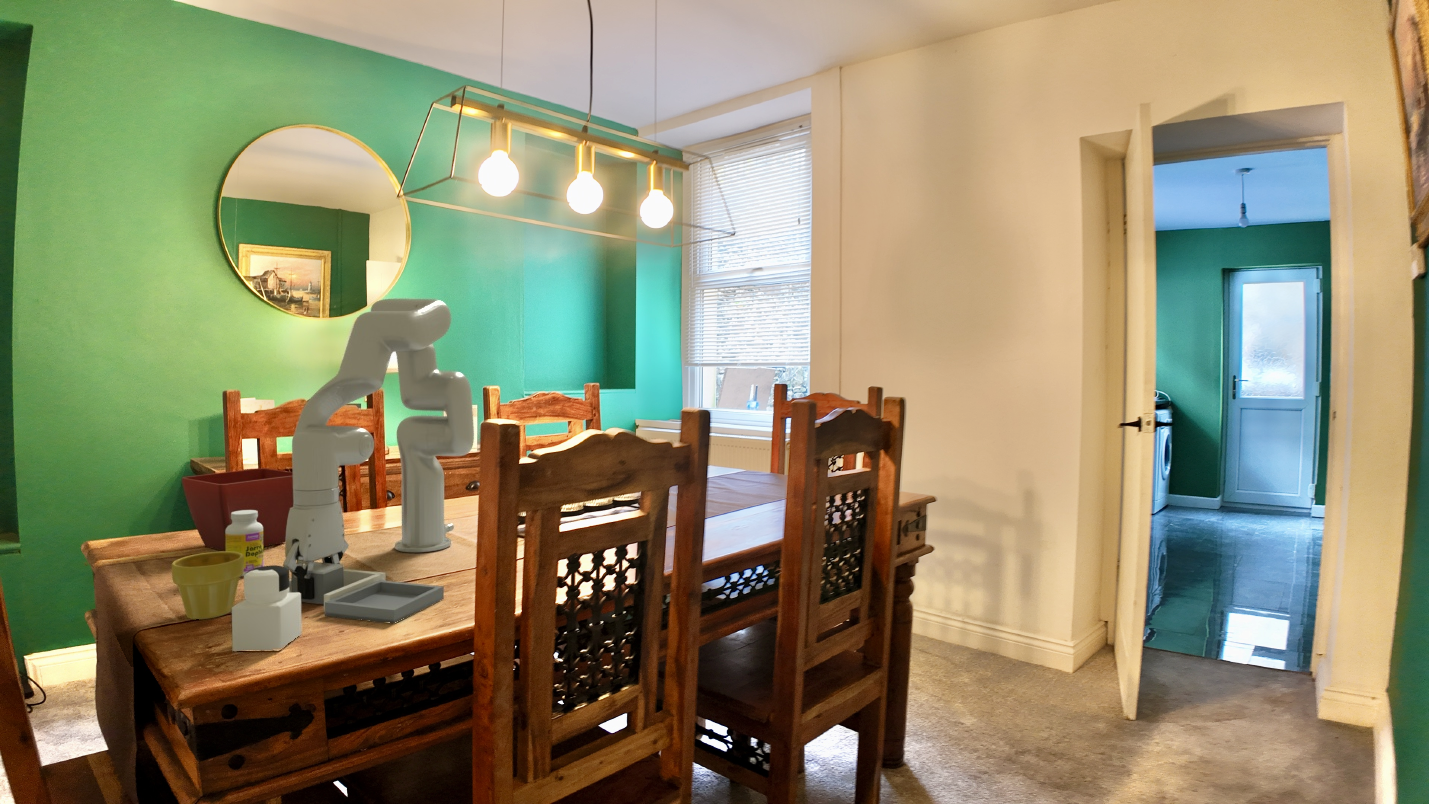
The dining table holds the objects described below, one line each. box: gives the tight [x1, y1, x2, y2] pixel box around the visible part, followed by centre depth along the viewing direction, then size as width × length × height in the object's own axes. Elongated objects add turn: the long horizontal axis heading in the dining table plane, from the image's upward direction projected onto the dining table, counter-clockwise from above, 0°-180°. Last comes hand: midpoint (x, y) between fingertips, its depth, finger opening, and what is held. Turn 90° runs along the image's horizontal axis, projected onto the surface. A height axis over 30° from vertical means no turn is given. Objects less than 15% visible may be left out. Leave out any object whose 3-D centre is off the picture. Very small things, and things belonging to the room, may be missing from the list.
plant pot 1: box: [181, 467, 293, 551], centre depth 177 cm, size 19×19×17 cm
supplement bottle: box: [225, 510, 264, 578], centre depth 154 cm, size 7×7×13 cm
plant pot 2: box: [171, 550, 244, 620], centre depth 129 cm, size 10×10×10 cm
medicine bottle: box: [230, 564, 302, 652], centre depth 116 cm, size 7×7×12 cm
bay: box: [288, 568, 387, 612], centre depth 140 cm, size 15×14×3 cm
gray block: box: [290, 561, 344, 605], centre depth 138 cm, size 5×7×6 cm
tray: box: [324, 580, 445, 624], centre depth 134 cm, size 14×14×2 cm
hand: (318, 592), depth 138 cm, fingers closed on gray block, 5 cm apart
